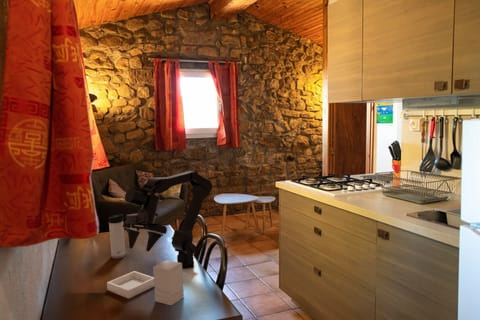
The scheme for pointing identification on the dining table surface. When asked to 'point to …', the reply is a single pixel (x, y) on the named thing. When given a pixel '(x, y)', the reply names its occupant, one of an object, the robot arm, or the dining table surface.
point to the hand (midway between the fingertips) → (138, 249)
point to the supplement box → (168, 282)
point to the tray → (130, 284)
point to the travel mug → (117, 236)
